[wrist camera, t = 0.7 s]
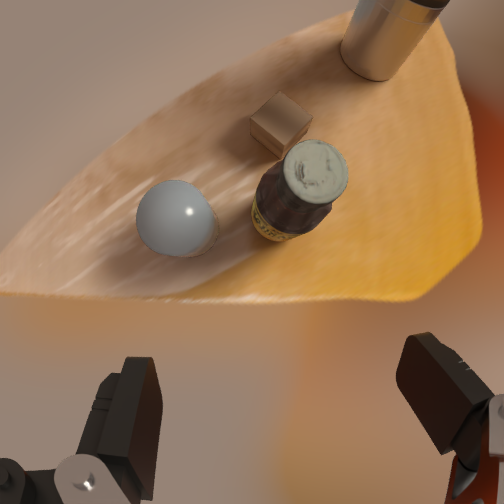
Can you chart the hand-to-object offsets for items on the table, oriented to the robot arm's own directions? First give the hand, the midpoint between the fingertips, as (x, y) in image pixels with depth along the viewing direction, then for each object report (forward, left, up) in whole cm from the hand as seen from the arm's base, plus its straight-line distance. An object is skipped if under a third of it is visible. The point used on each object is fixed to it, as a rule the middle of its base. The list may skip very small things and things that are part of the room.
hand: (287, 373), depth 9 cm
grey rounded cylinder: (0, -11, -28) cm, 30 cm away
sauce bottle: (-8, -4, -28) cm, 30 cm away
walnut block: (-16, -11, -28) cm, 34 cm away
